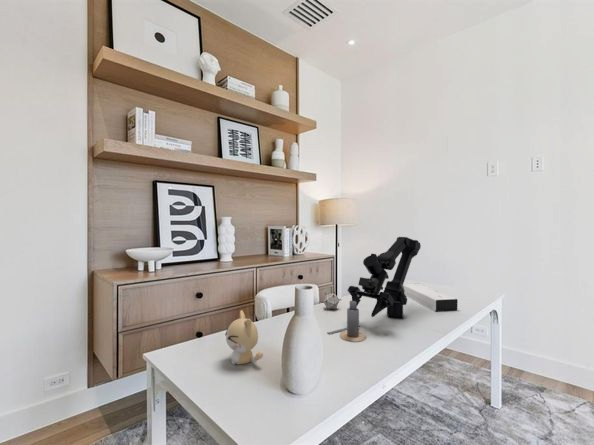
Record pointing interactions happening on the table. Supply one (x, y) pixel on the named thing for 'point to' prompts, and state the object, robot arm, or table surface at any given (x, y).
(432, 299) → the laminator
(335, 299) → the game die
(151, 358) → the table surface
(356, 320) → the grey stepped cylinder
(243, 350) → the kitten
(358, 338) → the cork coaster
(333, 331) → the felt line
